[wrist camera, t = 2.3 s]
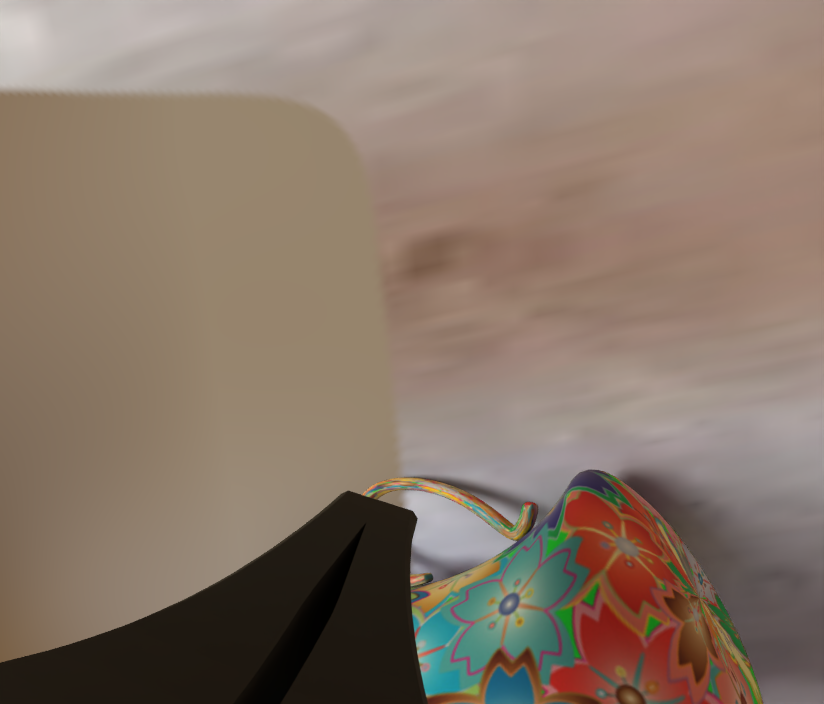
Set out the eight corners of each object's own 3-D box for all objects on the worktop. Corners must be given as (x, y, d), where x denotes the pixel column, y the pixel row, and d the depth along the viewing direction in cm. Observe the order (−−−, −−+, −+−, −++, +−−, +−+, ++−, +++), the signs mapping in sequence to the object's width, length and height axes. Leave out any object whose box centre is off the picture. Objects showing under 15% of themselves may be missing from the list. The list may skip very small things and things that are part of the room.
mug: (797, 878, 13) (361, 1002, 16) (818, 734, 20) (518, 842, 24) (501, 333, 18) (219, 526, 21) (608, 385, 25) (387, 520, 29)
